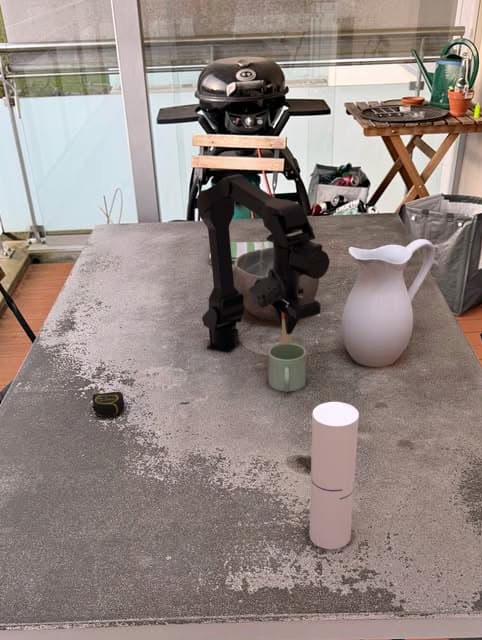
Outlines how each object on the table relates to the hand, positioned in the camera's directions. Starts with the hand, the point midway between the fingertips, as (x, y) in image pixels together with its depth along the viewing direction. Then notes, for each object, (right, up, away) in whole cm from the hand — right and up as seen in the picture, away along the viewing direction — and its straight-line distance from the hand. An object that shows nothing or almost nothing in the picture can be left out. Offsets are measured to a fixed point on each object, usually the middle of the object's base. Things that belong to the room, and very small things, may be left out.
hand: (286, 332), depth 165 cm
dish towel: (-10, +38, +78) cm, 88 cm away
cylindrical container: (+6, -42, -37) cm, 56 cm away
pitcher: (+26, -3, +18) cm, 32 cm away
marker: (0, -2, +1) cm, 2 cm away
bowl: (-1, +12, +40) cm, 42 cm away
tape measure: (-40, -18, -1) cm, 44 cm away
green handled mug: (0, -11, +6) cm, 13 cm away
